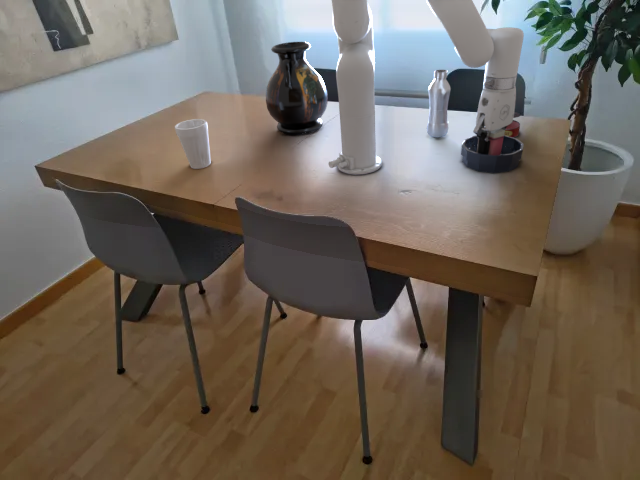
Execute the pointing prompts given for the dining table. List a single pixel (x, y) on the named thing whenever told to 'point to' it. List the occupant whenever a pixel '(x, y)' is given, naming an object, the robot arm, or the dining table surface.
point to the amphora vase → (295, 91)
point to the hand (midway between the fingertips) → (488, 150)
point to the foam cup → (195, 142)
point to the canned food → (513, 127)
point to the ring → (492, 162)
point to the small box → (495, 141)
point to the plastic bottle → (438, 104)
